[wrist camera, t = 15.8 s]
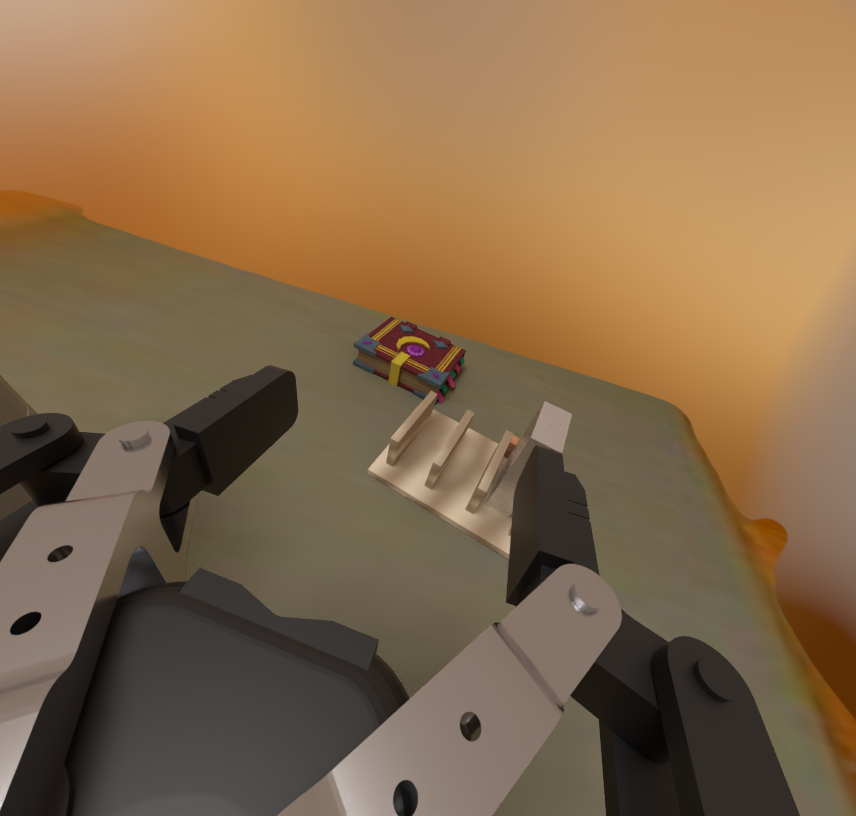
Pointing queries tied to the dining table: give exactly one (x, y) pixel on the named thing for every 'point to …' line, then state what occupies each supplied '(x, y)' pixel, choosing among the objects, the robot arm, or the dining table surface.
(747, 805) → the robot arm
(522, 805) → the dining table surface
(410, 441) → the slot rack
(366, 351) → the decorative book
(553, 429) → the aluminium block
